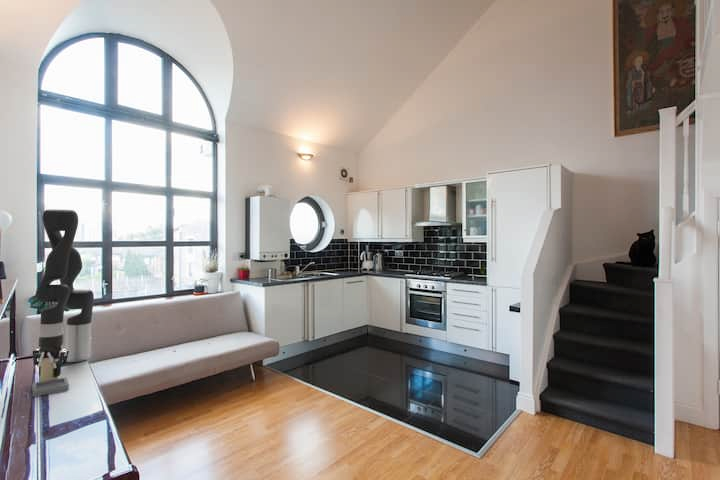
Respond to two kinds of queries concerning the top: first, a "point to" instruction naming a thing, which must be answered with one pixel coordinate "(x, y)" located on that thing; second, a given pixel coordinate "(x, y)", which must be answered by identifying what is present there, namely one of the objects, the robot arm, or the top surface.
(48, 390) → the holder
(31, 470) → the top surface
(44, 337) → the robot arm
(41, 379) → the candle
